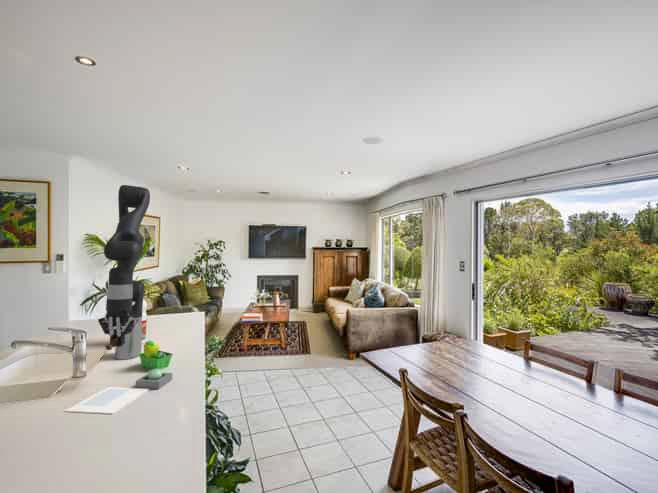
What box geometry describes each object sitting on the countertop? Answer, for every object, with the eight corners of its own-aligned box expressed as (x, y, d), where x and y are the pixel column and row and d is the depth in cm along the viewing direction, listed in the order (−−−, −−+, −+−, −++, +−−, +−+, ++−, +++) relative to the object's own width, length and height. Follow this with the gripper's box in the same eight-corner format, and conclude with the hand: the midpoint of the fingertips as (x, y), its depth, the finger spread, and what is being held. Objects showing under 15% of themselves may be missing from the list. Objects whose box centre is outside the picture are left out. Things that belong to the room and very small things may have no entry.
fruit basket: (173, 366, 122) (175, 338, 122) (152, 373, 114) (154, 343, 114) (155, 361, 126) (156, 334, 127) (133, 368, 118) (135, 339, 119)
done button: (152, 376, 106) (152, 368, 107) (164, 377, 106) (164, 368, 106) (144, 381, 102) (144, 373, 102) (156, 382, 102) (157, 373, 102)
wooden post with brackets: (129, 340, 109) (126, 330, 108) (113, 355, 102) (109, 345, 100) (124, 340, 110) (121, 330, 108) (108, 355, 102) (104, 344, 101)
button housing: (150, 378, 108) (150, 372, 108) (171, 379, 108) (172, 372, 108) (135, 388, 100) (135, 380, 100) (158, 389, 100) (159, 381, 100)
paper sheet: (108, 387, 100) (108, 386, 100) (148, 389, 100) (149, 388, 100) (64, 411, 84) (64, 410, 84) (112, 414, 84) (112, 412, 84)
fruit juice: (121, 343, 150) (125, 288, 152) (142, 340, 157) (146, 287, 158) (125, 347, 144) (128, 289, 145) (147, 344, 150) (150, 288, 151)
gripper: (145, 296, 109) (142, 344, 108) (109, 294, 109) (106, 342, 109) (131, 299, 101) (128, 350, 101) (92, 297, 102) (89, 348, 101)
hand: (116, 346), depth 105 cm, fingers closed on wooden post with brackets, 1 cm apart
